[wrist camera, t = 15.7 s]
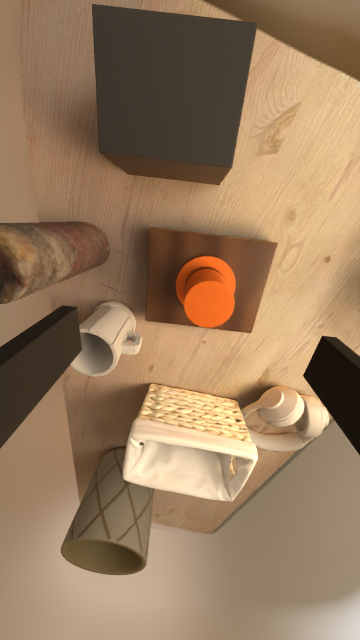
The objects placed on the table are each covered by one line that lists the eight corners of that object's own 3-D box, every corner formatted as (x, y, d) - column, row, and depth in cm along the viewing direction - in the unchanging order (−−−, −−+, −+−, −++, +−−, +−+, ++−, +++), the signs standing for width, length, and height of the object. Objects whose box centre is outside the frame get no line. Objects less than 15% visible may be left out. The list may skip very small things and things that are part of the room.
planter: (172, 466, 63) (164, 564, 45) (132, 487, 69) (111, 580, 51) (124, 434, 58) (93, 530, 40) (86, 460, 64) (44, 553, 46)
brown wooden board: (148, 314, 41) (145, 320, 39) (152, 227, 34) (148, 227, 32) (247, 326, 41) (251, 333, 39) (271, 241, 34) (277, 243, 32)
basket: (137, 421, 55) (119, 485, 42) (145, 375, 48) (127, 433, 35) (224, 438, 56) (234, 505, 43) (244, 394, 49) (263, 459, 36)
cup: (128, 289, 39) (104, 315, 29) (152, 328, 43) (138, 363, 32) (85, 310, 42) (47, 341, 31) (110, 345, 45) (84, 384, 34)
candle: (67, 259, 38) (-49, 294, 20) (67, 216, 34) (-71, 209, 16) (108, 270, 38) (32, 314, 20) (112, 228, 35) (26, 234, 17)
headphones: (264, 369, 45) (221, 416, 55) (274, 400, 38) (223, 447, 49) (336, 396, 47) (281, 436, 57) (357, 430, 40) (291, 468, 51)
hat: (173, 309, 37) (168, 333, 29) (179, 252, 33) (174, 262, 25) (228, 315, 37) (238, 342, 29) (241, 259, 33) (257, 271, 25)
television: (128, 174, 31) (99, 152, 22) (128, 81, 27) (91, 0, 17) (219, 185, 31) (232, 167, 22) (234, 94, 27) (258, 19, 17)
